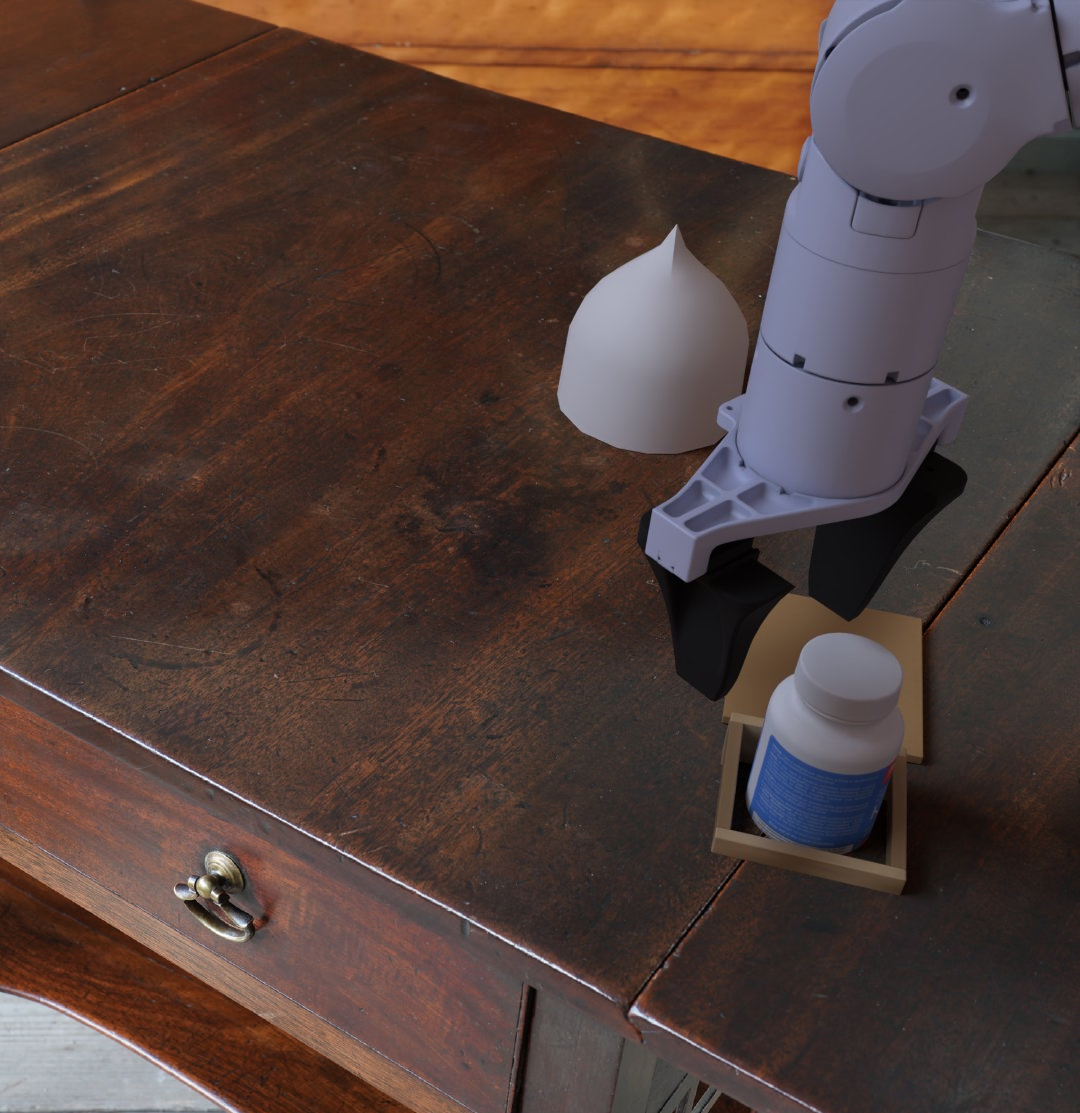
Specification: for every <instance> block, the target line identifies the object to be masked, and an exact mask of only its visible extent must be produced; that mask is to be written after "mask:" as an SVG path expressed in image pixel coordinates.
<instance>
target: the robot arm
mask: <svg viewBox="0 0 1080 1113" xmlns="http://www.w3.org/2000/svg"><path fill="white" fill-rule="evenodd" d="M817 44H818V46H817V48H818V52H817V53H818V56H817V61H816V65H815V70H814V73H813V77H812V81H811V87H810V94H809V112H810V124H811V131H812V132H811V135H808V136H807V138H806V139H805V140H804V143H803V144H802V146H801V150H800V151H801V152H800V157H799V161H798V165H797V168H796V169H797V170H796V174H797V176H796V177H797V182H798V183H797V185H796V186H795V187H794V188H793V190H792V191H791V192H790V194H789V197H788V198H787V200H786V203H785V204H786V205H785V209H784V214H783V218H782V223H781V228H780V233H779V238H778V242H777V248H776V251H775V256H774V259H773V260H774V261H773V265H772V268H771V269H772V270H771V274H770V278H769V284H768V289H767V293H766V298H765V302H764V307H763V312H762V316H761V320H760V326H759V332H758V336H757V340H756V345H755V350H754V354H753V358H752V363H751V367H750V372H749V377H748V381H747V387H746V391H745V393H743V394H741V396H739V397H737V398H734V399H732V400H730V401H728V402H726V403H724V404H722V405H721V406H720V407H719V411H718V416H717V424H718V425H719V426H720V427H721V428H723V429H724V430H726V431H727V432H728V433H727V434H726V435H725V437H724V438H723V439H722V440H721V441H720V443H719V444H717V446H716V447H715V448H714V449H713V450H712V452H711V453H710V454H709V456H708V457H707V458H706V459H705V460H704V462H703V463H702V464H701V465H700V467H699V468H698V469H697V470H696V472H695V473H694V474H693V475H692V476H691V478H690V479H689V480H688V481H687V482H686V484H685V485H684V486H683V487H682V488H681V489H680V490H679V491H678V492H676V494H674V495H673V496H672V497H671V498H669V499H667V500H666V501H663V502H662V503H660V504H658V505H656V506H654V507H652V508H650V509H648V510H647V511H645V512H643V514H642V515H641V516H640V521H639V524H638V530H637V536H636V541H637V544H638V547H639V548H640V549H641V551H642V553H643V555H644V556H645V558H646V560H647V562H648V564H649V566H650V568H651V570H652V572H653V574H654V577H655V579H656V581H657V583H658V587H659V589H660V591H661V594H662V597H663V601H664V604H665V608H666V612H667V617H668V621H669V626H670V633H671V639H672V646H673V647H672V648H673V649H672V650H673V657H674V665H675V674H676V675H677V676H678V677H679V678H681V679H682V680H684V681H685V682H686V683H688V684H689V685H690V686H691V687H693V688H694V689H695V690H696V691H698V692H699V693H700V694H701V695H703V696H704V697H705V698H707V699H708V700H709V701H711V702H718V701H719V700H721V699H723V698H725V696H726V695H727V694H728V693H729V691H730V690H731V689H732V687H733V686H734V684H735V682H736V681H737V679H738V677H739V674H740V672H741V669H742V667H743V664H744V661H745V659H746V656H747V653H748V651H749V648H750V645H751V643H752V641H753V639H754V637H755V635H756V633H757V631H758V630H759V628H760V626H761V625H762V623H763V622H764V620H765V619H766V617H767V616H768V614H769V613H770V612H771V611H772V609H773V608H774V607H775V606H776V605H777V604H778V602H779V601H780V600H781V599H783V598H784V597H785V596H786V595H787V594H788V593H791V592H792V591H793V590H794V589H795V588H796V585H794V584H793V583H791V582H789V581H788V580H787V579H785V578H784V577H782V576H780V574H778V573H777V572H776V571H774V570H772V569H771V568H769V567H768V566H766V565H764V564H763V563H762V562H760V561H759V557H760V553H761V550H760V548H758V547H755V548H754V547H753V546H754V541H755V538H756V537H762V536H767V535H774V534H778V533H784V532H790V531H795V530H798V529H799V530H800V529H805V528H806V529H807V528H810V527H815V531H814V537H813V543H812V548H811V553H810V554H811V555H810V561H809V567H808V573H807V574H808V575H807V576H808V578H807V583H808V584H807V587H808V597H811V598H813V599H815V600H816V601H818V602H819V603H821V604H822V605H824V606H825V607H827V608H828V609H830V610H831V611H833V612H834V613H836V614H837V615H839V616H840V617H842V618H843V619H845V620H846V621H848V622H850V621H851V620H853V619H855V618H856V617H858V616H859V615H860V614H861V613H862V611H863V610H864V609H865V608H867V607H868V605H869V604H870V603H871V601H872V600H873V598H874V597H875V595H876V594H877V592H878V591H879V589H880V588H881V586H882V584H883V583H884V581H885V580H886V578H887V577H888V575H889V573H891V571H892V569H893V568H894V567H895V565H896V563H897V562H898V560H899V559H900V558H901V556H902V555H903V554H904V552H905V551H906V549H907V548H908V547H909V546H910V545H911V543H912V542H913V540H915V538H916V537H917V536H918V535H919V534H920V532H922V531H923V529H924V528H925V527H926V526H928V524H929V523H930V522H931V521H932V520H933V519H935V517H937V515H938V514H939V513H941V512H942V511H943V510H944V509H945V508H946V507H947V506H949V505H950V504H952V502H953V501H955V500H956V499H957V498H959V497H961V496H962V495H963V494H964V492H965V488H966V487H967V483H968V480H969V479H968V478H969V477H968V474H967V471H966V470H964V468H963V467H962V466H960V464H957V463H956V462H954V461H953V460H951V459H949V458H947V457H945V456H944V455H942V454H941V453H938V452H937V451H935V450H936V447H937V446H938V447H942V446H945V445H947V444H948V443H950V442H952V441H954V440H956V439H957V438H958V435H959V432H960V429H961V425H962V423H963V420H964V417H965V415H966V411H967V408H968V405H969V402H970V399H971V396H970V395H969V394H967V393H965V392H964V391H961V390H959V389H958V388H956V387H954V386H951V385H950V384H948V383H946V382H944V381H942V380H940V379H938V378H936V377H934V375H935V372H936V369H937V366H938V362H939V358H940V356H941V351H942V348H943V345H944V342H945V339H946V335H947V332H948V329H949V326H950V323H951V319H952V316H953V312H954V309H955V306H956V303H957V301H958V295H959V293H960V290H961V286H962V283H963V281H964V277H965V274H966V270H967V268H968V264H969V261H970V258H971V254H972V251H973V247H974V244H975V241H976V238H977V233H978V232H977V231H978V222H977V219H976V214H977V210H978V207H979V204H980V201H981V197H982V195H983V191H984V189H985V185H986V183H988V182H990V180H992V179H993V178H994V177H995V176H997V175H998V174H999V173H1001V171H1003V170H1004V168H1005V167H1007V165H1008V164H1009V163H1010V162H1011V161H1012V159H1013V158H1014V157H1015V156H1016V154H1017V153H1018V152H1019V151H1020V149H1021V148H1023V147H1024V146H1025V145H1027V144H1028V143H1029V142H1031V141H1032V140H1034V139H1037V138H1039V137H1053V136H1058V135H1062V134H1065V133H1068V132H1069V133H1070V132H1073V131H1074V125H1075V128H1076V130H1080V0H835V1H834V3H833V6H832V8H831V10H830V12H829V13H828V16H827V18H825V19H823V20H822V22H821V23H820V27H819V32H818V43H817ZM1072 114H1073V116H1072ZM1073 118H1074V123H1075V124H1073Z"/></svg>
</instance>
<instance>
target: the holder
mask: <svg viewBox="0 0 1080 1113" xmlns="http://www.w3.org/2000/svg"><path fill="white" fill-rule="evenodd" d="M763 723H764V718H759V717H754V716H750V715H745V714H740V713H735V712H732V713H731V716H730V720H729V724H727V729H726V732H725V735H724V736H725V737H724V740H723V744H722V748H721V756H720V760H719V761H720V763H719V765H721V774H720V781H719V789H718V796H717V803H716V810H715V819H714V825H713V833H712V842H711V849H710V852H711V853H713V854H717V855H722V856H725V857H729V858H734V859H739V860H744V861H748V862H752V863H756V864H761V865H764V866H770V867H773V868H777V869H782V870H787V871H790V872H794V873H795V872H796V873H799V874H803V875H809V876H813V877H818V878H821V879H826V880H831V881H833V882H838V883H843V884H848V885H852V886H856V887H860V888H864V889H868V890H873V891H876V892H881V893H886V894H890V895H895V896H901V894H902V892H903V890H904V887H905V885H906V883H907V862H908V861H907V858H908V856H907V851H908V850H907V841H908V840H907V838H908V836H907V831H908V829H907V825H908V820H907V817H908V816H907V813H908V812H907V811H908V809H907V808H908V806H907V804H908V803H907V802H908V798H907V797H908V794H907V793H908V762H907V749H906V748H903V747H901V749H900V752H899V755H898V757H897V760H896V763H895V766H894V769H893V772H892V774H891V777H890V780H889V783H888V786H887V788H886V791H885V794H884V798H883V800H882V801H886V824H885V826H886V828H885V829H886V830H885V832H886V833H885V864H884V863H878V862H874V861H870V860H865V859H862V858H856V857H852V856H847V855H845V854H842V855H839V854H835V853H830V852H826V851H822V850H817V849H813V848H808V847H804V846H799V845H795V844H791V843H786V842H782V841H777V840H773V839H771V838H769V837H763V836H759V835H755V834H751V833H746V832H741V831H737V830H733V829H732V822H733V815H734V808H735V807H734V806H735V799H736V790H737V782H738V775H739V767H740V766H739V765H740V763H743V764H748V765H751V766H752V765H753V762H754V758H755V754H756V750H757V746H758V742H759V739H760V735H761V731H762V727H763Z"/></svg>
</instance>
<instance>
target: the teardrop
mask: <svg viewBox="0 0 1080 1113" xmlns="http://www.w3.org/2000/svg"><path fill="white" fill-rule="evenodd" d="M565 343H566V344H565V348H564V354H563V359H562V365H561V370H560V375H559V382H558V387H557V391H556V392H557V393H556V395H557V401H558V405H559V410H560V411H561V413H563V414H564V415H565V417H566V418H567V419H568V420H569V421H571V423H572V424H573V425H574V426H575V427H576V428H577V429H578V430H579V431H580V432H581V433H583V434H585V435H587V436H590V437H592V438H594V439H597V440H599V441H601V442H603V443H605V444H607V445H610V446H612V447H614V448H617V449H620V450H626V451H631V452H636V453H642V454H647V455H648V454H649V455H652V454H653V455H655V454H656V455H657V454H658V455H665V454H667V455H668V454H669V455H677V454H683V453H686V452H690V451H694V450H698V449H702V448H705V447H709V446H714V445H716V444H717V443H718V442H719V441H720V440H721V439H722V438H723V437H724V436H726V435H727V434H728V433H729V432H727V431H726V430H724V429H723V428H721V427H720V426H719V425H718V424H717V416H718V411H719V407H720V406H721V405H722V404H724V403H726V402H728V401H730V400H732V399H734V398H737V397H739V396H741V395H742V392H743V386H744V378H745V373H746V368H747V367H746V366H747V359H748V354H749V347H750V338H749V330H748V323H747V320H746V318H745V316H744V314H743V312H742V310H741V308H740V307H739V304H738V303H737V301H736V300H735V298H734V297H733V295H732V294H731V292H730V290H729V289H728V288H727V286H726V285H725V283H724V282H723V281H722V280H721V279H720V278H718V276H717V275H715V274H714V273H713V272H712V271H711V270H709V269H708V268H707V267H706V266H705V265H704V264H703V263H702V262H701V261H700V260H698V259H697V258H696V256H695V255H694V254H693V253H692V252H691V251H690V250H689V249H688V247H687V246H686V243H685V241H684V237H683V236H682V233H681V230H680V228H679V225H678V223H676V224H675V225H674V227H673V228H672V229H671V231H670V232H669V234H667V236H666V237H665V238H664V240H663V241H662V242H661V244H659V245H657V246H655V247H654V248H652V249H650V250H648V251H646V252H644V253H642V254H641V255H639V256H637V257H635V258H633V259H632V260H629V261H628V262H626V263H624V264H623V265H620V266H619V267H618V268H615V270H613V271H611V272H610V273H608V274H606V275H605V276H604V277H602V278H601V279H600V280H599V281H598V282H597V283H596V284H595V285H594V287H593V288H592V289H590V291H588V293H587V294H586V295H585V296H584V298H583V300H582V301H581V302H580V305H579V306H578V309H577V310H576V313H575V314H574V316H573V319H572V321H571V322H570V324H569V326H568V332H567V337H566V342H565Z"/></svg>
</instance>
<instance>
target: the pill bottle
mask: <svg viewBox="0 0 1080 1113" xmlns="http://www.w3.org/2000/svg"><path fill="white" fill-rule="evenodd" d="M903 680H904V674H903V668H902V666H901V664H900V663H899V661H898V659H897V658H896V657H895V656H894V654H893V653H892V652H890V651H889V650H888V649H887V648H885V647H884V646H882V645H881V644H879V643H877V642H875V641H873V640H871V639H868V638H866V637H863V636H859V635H855V634H849V633H829V634H824V635H820V636H818V637H815V638H814V639H812V640H810V641H809V642H808V643H807V644H806V645H805V646H804V648H803V649H802V652H801V654H800V657H799V660H798V663H797V667H796V669H795V673H794V674H793V675H791V676H789V677H787V678H786V679H785V680H783V681H782V682H781V683H780V684H779V685H778V686H777V688H776V689H775V691H774V692H773V694H772V696H771V698H770V701H769V704H768V708H767V712H766V715H765V719H764V723H763V727H762V731H761V735H760V739H759V742H758V746H757V750H756V754H755V758H754V762H753V765H752V764H751V769H750V773H749V776H748V781H747V784H746V788H745V794H744V797H745V805H746V809H747V811H748V813H749V816H750V818H751V819H752V821H753V823H754V824H755V825H756V826H757V827H758V829H760V831H761V832H762V833H764V834H765V835H766V836H767V838H769V839H773V840H777V841H782V842H786V843H791V844H795V845H799V846H804V847H808V848H813V849H817V850H822V851H826V852H830V853H835V854H839V855H845V854H848V853H851V852H853V851H855V850H857V849H858V848H860V847H861V846H863V845H864V844H865V843H866V841H867V840H869V838H870V836H871V834H872V832H873V829H874V826H875V822H876V819H877V817H878V814H879V812H880V809H881V806H882V803H883V801H884V800H883V798H884V794H885V791H886V788H887V786H888V783H889V780H890V777H891V774H892V772H893V769H894V766H895V763H896V760H897V757H898V755H899V752H900V749H901V746H902V743H903V739H904V733H905V726H904V719H903V716H902V713H901V711H900V709H899V707H898V705H897V704H898V701H899V695H900V691H901V688H902V684H903Z"/></svg>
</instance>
